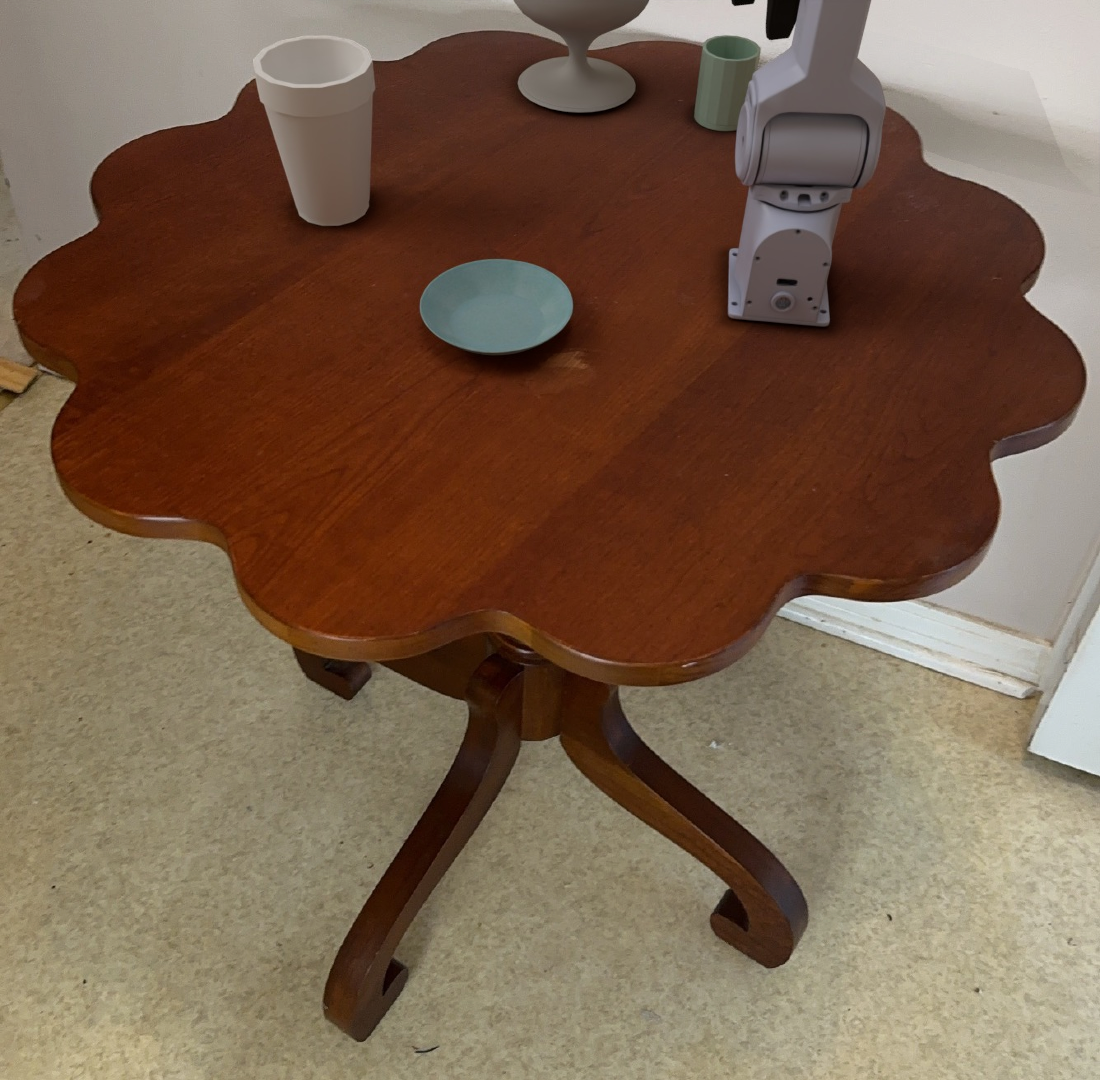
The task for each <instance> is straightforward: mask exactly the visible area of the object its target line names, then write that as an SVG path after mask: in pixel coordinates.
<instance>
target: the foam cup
mask: <svg viewBox="0 0 1100 1080" xmlns="http://www.w3.org/2000/svg"><path fill="white" fill-rule="evenodd" d="M252 66H253V72H254V78H255V82H256V83H255V84H256V88H257V92H258V93H257V94H258V97H259V102H260V103H261V104H263V106H264V110H265V112H266V113H265V114H266V116H267V119H268V123H269V125H270V129H271V131H272V134H273V137H274V141H275V145H276V147H277V150H278V153H279V157H280V160H281V163H282V166H283V170H284V173H285V176H286V179H287V182H288V186H289V189H290V192H291V196H292V198H293V202H294V205H295V209H296V210H297V212H298V216H299V217H301V218H302V219H303V220H304V221H306V222H307V223H310V224H313V225H318V226H321V227H334V226H336V227H338V226H342V225H346V224H351V223H353V222H355V221H357V220H359V219H361V218H362V217H364V216H365V215H366V212H367V211H368V209H369V208H370V198H371V169H372V168H371V166H372V165H371V164H372V163H371V162H372V133H373V132H372V131H373V99H374V92H375V91H376V82H375V72H374V61H373V58H372V56H371V53H370V51H369V49H368V48H367V47H365V46H364V45H362V44H360V43H358V42H357V41H355V40H354V39H349V38H344V37H340V36H335V35H331V34H330V35H329V34H328V35H325V34H323V35H319V34H318V35H316V34H315V35H300V36H295V37H291V38H286V39H281V40H278V41H276V42H274V43H272V44H270V45H267V46H265V47H264V48H261V49H260V51H259V52H258V53H257V54H256V56H255V57H254V58H253V60H252Z"/></svg>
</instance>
